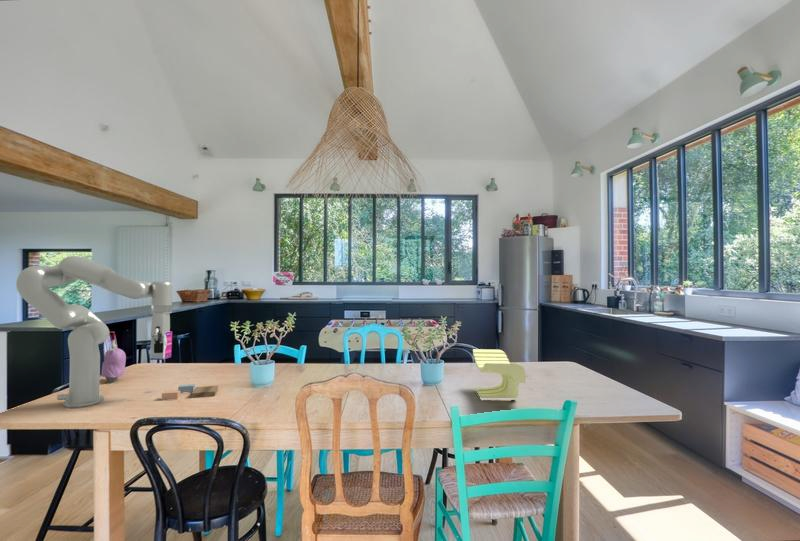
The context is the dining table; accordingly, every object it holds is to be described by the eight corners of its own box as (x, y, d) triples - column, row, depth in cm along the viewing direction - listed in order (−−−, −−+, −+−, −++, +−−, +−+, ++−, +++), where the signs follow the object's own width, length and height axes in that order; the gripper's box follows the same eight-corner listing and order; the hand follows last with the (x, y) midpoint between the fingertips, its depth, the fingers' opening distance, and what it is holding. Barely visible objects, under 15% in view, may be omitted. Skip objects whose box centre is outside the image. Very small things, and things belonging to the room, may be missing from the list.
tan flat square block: (191, 399, 160) (191, 393, 160) (196, 392, 169) (196, 387, 169) (214, 397, 163) (214, 391, 163) (218, 391, 171) (218, 385, 172)
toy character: (103, 379, 189) (104, 339, 189) (128, 376, 193) (128, 337, 193) (95, 385, 178) (96, 343, 178) (122, 382, 182) (123, 341, 182)
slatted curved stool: (525, 408, 150) (525, 363, 150) (485, 407, 150) (485, 363, 151) (506, 386, 180) (506, 349, 180) (472, 386, 180) (472, 349, 181)
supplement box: (163, 360, 158) (163, 332, 159) (149, 359, 159) (150, 332, 159) (172, 357, 164) (172, 330, 164) (158, 357, 164) (159, 330, 165)
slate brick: (178, 393, 167) (178, 386, 167) (179, 391, 170) (180, 385, 170) (193, 392, 168) (193, 385, 168) (194, 390, 171) (194, 383, 171)
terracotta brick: (161, 400, 157) (161, 393, 157) (164, 398, 160) (164, 391, 160) (177, 399, 158) (177, 392, 158) (180, 397, 161) (180, 390, 161)
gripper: (158, 308, 169) (157, 348, 169) (144, 311, 152) (144, 355, 152) (176, 308, 171) (176, 347, 171) (165, 311, 155) (165, 354, 154)
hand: (161, 350), depth 161 cm, fingers closed on supplement box, 7 cm apart
